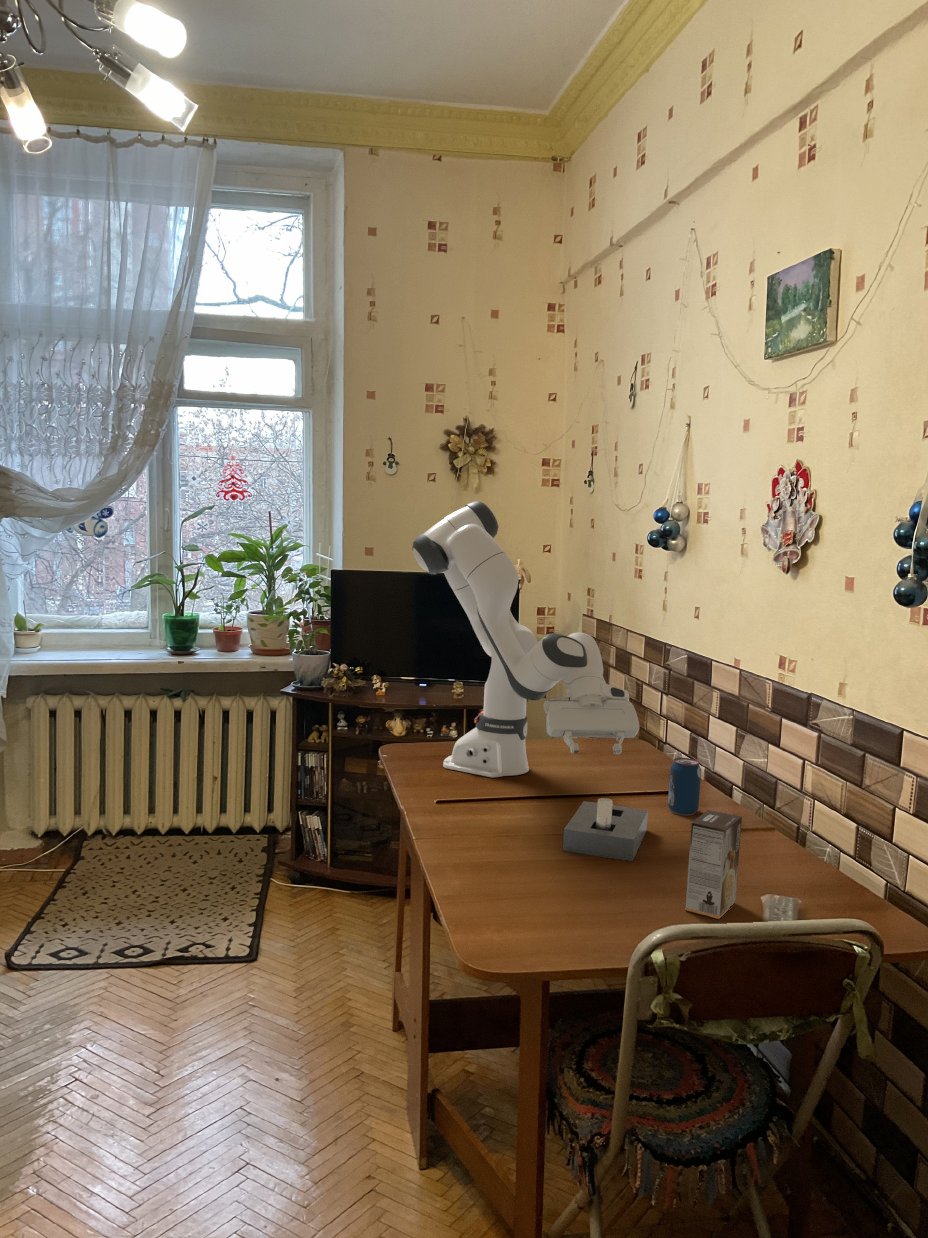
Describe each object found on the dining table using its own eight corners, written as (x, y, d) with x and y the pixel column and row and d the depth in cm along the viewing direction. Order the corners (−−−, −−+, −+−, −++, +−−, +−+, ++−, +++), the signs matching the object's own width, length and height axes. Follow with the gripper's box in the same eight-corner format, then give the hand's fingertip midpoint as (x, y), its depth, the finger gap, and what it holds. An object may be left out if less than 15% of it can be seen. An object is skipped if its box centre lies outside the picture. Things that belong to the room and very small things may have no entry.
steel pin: (593, 849, 192) (596, 801, 190) (596, 844, 194) (599, 797, 193) (608, 851, 191) (611, 803, 189) (610, 846, 193) (613, 799, 192)
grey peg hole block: (562, 850, 190) (564, 829, 190) (582, 820, 209) (583, 801, 208) (632, 861, 186) (634, 839, 185) (646, 830, 205) (647, 810, 204)
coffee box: (701, 894, 171) (707, 808, 169) (736, 903, 168) (743, 816, 166) (684, 911, 163) (690, 821, 162) (720, 921, 160) (727, 829, 158)
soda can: (703, 812, 219) (707, 761, 217) (688, 818, 214) (692, 766, 212) (677, 805, 224) (680, 755, 222) (661, 811, 218) (665, 760, 217)
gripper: (544, 689, 207) (551, 744, 199) (635, 691, 210) (645, 745, 201) (540, 705, 212) (546, 759, 204) (628, 706, 215) (638, 760, 206)
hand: (596, 752), depth 203 cm, fingers open, 8 cm apart
